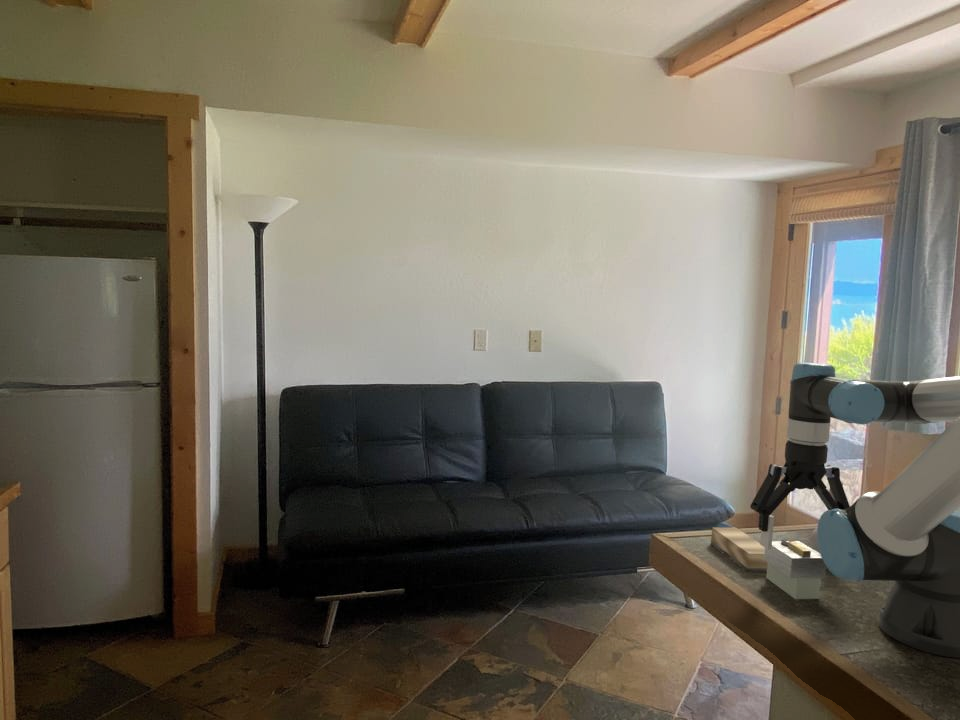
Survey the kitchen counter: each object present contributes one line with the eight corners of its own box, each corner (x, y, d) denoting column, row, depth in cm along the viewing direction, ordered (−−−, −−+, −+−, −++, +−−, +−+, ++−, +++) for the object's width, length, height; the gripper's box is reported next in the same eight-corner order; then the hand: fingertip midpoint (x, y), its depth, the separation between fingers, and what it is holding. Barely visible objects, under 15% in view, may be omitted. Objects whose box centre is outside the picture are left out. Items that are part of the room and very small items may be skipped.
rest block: (818, 598, 134) (821, 578, 133) (795, 599, 133) (797, 579, 132) (788, 577, 143) (790, 558, 143) (766, 577, 143) (768, 559, 142)
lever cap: (825, 577, 134) (828, 552, 133) (789, 578, 133) (792, 553, 132) (797, 559, 143) (799, 536, 142) (763, 560, 141) (766, 536, 141)
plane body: (773, 571, 146) (775, 553, 146) (747, 571, 145) (749, 553, 145) (734, 544, 162) (736, 527, 161) (710, 544, 161) (712, 527, 160)
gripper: (851, 439, 141) (841, 540, 142) (737, 436, 137) (729, 540, 139) (877, 446, 133) (867, 553, 135) (758, 444, 129) (749, 554, 131)
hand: (797, 547), depth 137 cm, fingers open, 13 cm apart
